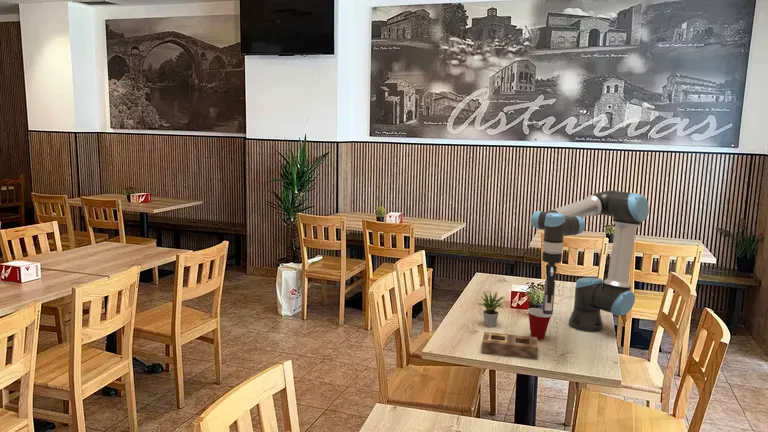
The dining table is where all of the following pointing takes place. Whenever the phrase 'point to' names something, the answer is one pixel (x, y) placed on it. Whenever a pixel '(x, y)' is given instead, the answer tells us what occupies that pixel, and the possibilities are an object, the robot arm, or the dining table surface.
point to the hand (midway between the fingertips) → (547, 308)
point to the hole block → (510, 345)
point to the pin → (545, 299)
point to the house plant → (491, 309)
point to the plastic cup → (538, 322)
